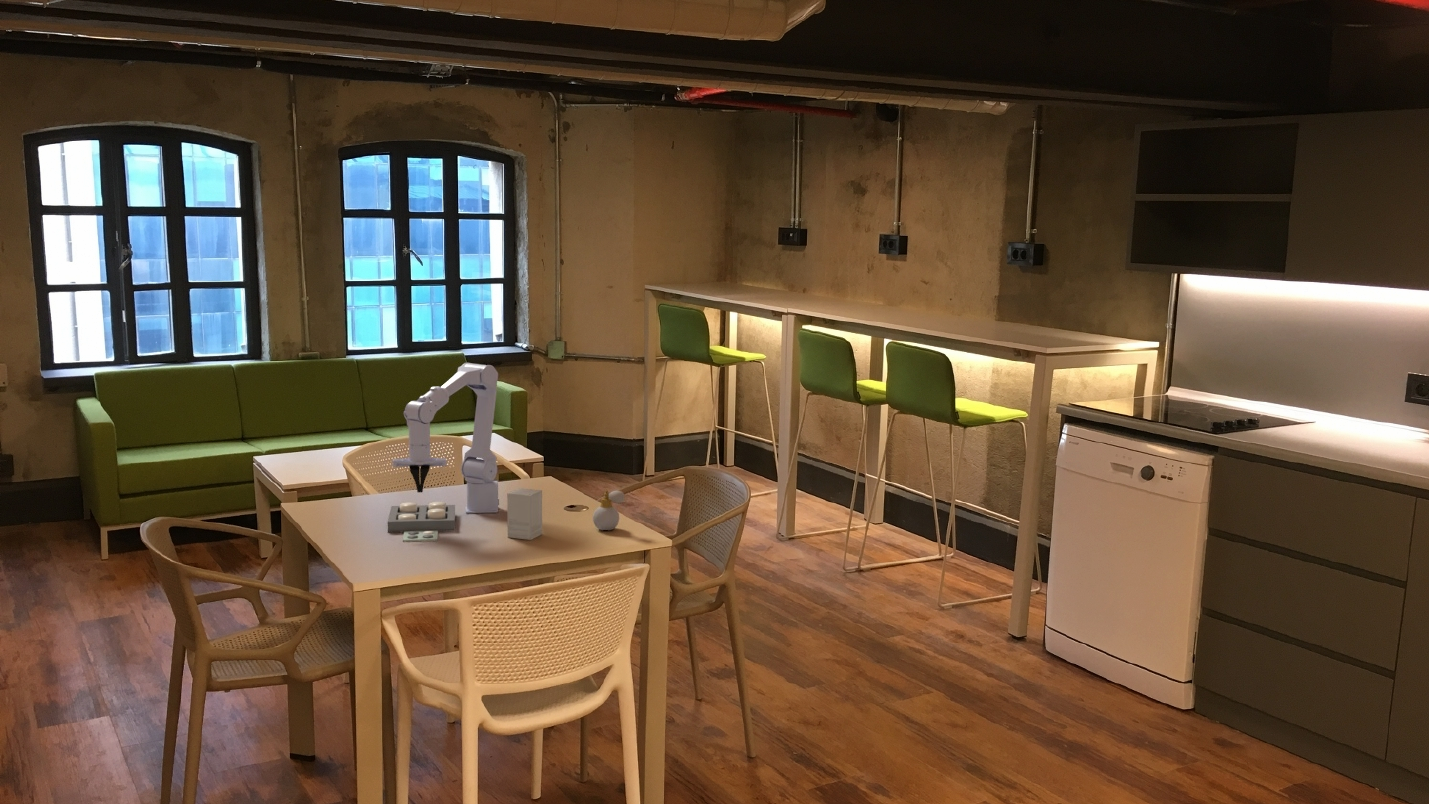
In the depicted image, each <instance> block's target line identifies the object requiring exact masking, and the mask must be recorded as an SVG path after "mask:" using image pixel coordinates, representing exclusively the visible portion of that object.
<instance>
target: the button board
mask: <svg viewBox="0 0 1429 804" xmlns="http://www.w3.org/2000/svg"><path fill="white" fill-rule="evenodd" d="M428 510H429V504H428V505H427V504H426V505H425V504H424V505H423V504H422V505H421V504H420V505H417V512H407V513H400V505H391V507H390V510H389V511H390V512H389V515H388V519H387V533H404V531H433V530H438V532H454V531H456V530H455V528H456V527H455V526H456V505H455V504H446V512H445V519H428ZM401 514H415V515H416V519H410V520H398V516H399V515H401Z"/></svg>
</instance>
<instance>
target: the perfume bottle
mask: <svg viewBox="0 0 1429 804" xmlns="http://www.w3.org/2000/svg"><path fill="white" fill-rule="evenodd" d="M625 495H626V494H624V492H623V491H621V490H613V491H611V492H608V489H605V491H604V494H603V496H604V497H602V498H601V500H600V501H601V503H600V505H599V506H598V507H597V508H596V509H595V510H594V512H593V515H592V522H593V524H594V526H595V527H596V528H597V529H598V530H600V531H603V530H608V531H612V530H614V529H615V528H617V526H618V524H619V521H620V513H619V511H618V510H617V508H616V507H614V506H613V503H615V504H621V503H623V502H624V501H625V498H626V496H625ZM612 502H613V503H612Z"/></svg>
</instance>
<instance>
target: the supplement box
mask: <svg viewBox="0 0 1429 804" xmlns="http://www.w3.org/2000/svg"><path fill="white" fill-rule="evenodd" d="M506 499H507V500H506V502H507V507H506V509H507V512H506V513H507V516H506V517H507V524H506V525H507V538H508V539H509V538H510V539H519V540H526V541H527V540H528V541H532V540H533V539H535V538H537V537H539V536H541V535H543V489H542V490H541V489H535V488H534V489H532V488H525V487H524V488H523V487H522V488H521V487H519V488H516V489H514V490H512V491H510V492H507V496H506Z"/></svg>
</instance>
